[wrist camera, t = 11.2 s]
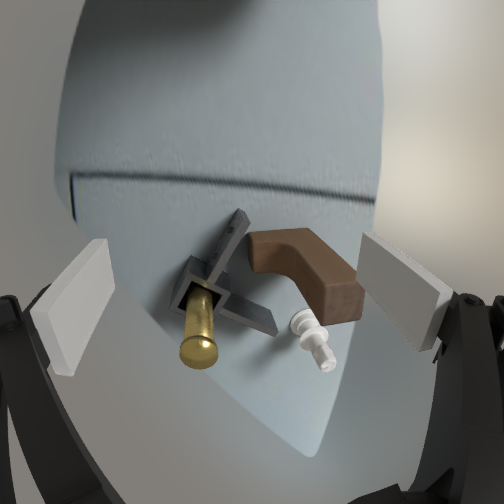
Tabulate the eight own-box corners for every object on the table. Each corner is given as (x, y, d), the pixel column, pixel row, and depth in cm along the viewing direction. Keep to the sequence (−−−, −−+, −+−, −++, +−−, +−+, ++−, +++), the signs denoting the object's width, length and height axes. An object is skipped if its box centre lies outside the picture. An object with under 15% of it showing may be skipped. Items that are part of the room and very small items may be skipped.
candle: (287, 335, 49) (307, 384, 38) (293, 308, 47) (317, 355, 36) (316, 335, 50) (341, 381, 39) (323, 309, 48) (352, 353, 37)
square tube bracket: (222, 199, 40) (224, 208, 34) (311, 249, 44) (325, 264, 38) (173, 288, 43) (169, 309, 38) (258, 326, 47) (265, 349, 42)
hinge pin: (186, 269, 42) (177, 340, 27) (212, 268, 43) (217, 339, 27) (188, 293, 44) (181, 369, 28) (213, 292, 44) (219, 368, 29)
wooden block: (248, 261, 43) (273, 335, 27) (246, 231, 42) (273, 292, 25) (308, 255, 44) (362, 320, 28) (308, 226, 43) (368, 280, 26)
